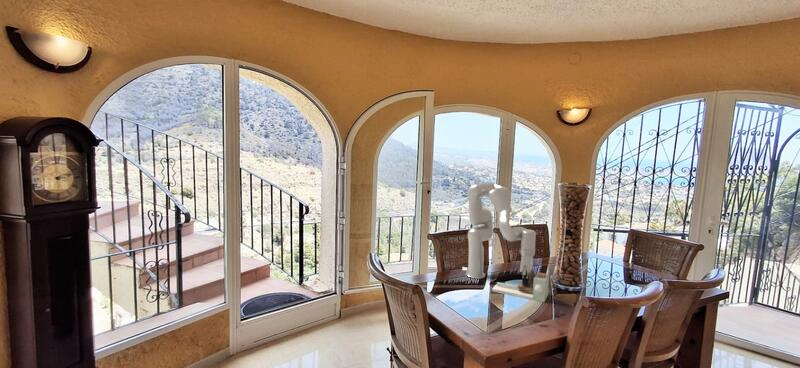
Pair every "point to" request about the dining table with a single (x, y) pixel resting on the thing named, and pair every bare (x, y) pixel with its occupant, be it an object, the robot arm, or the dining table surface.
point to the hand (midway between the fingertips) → (526, 283)
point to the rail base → (511, 290)
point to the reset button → (541, 275)
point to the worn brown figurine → (532, 277)
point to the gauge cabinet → (540, 288)
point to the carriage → (526, 286)
